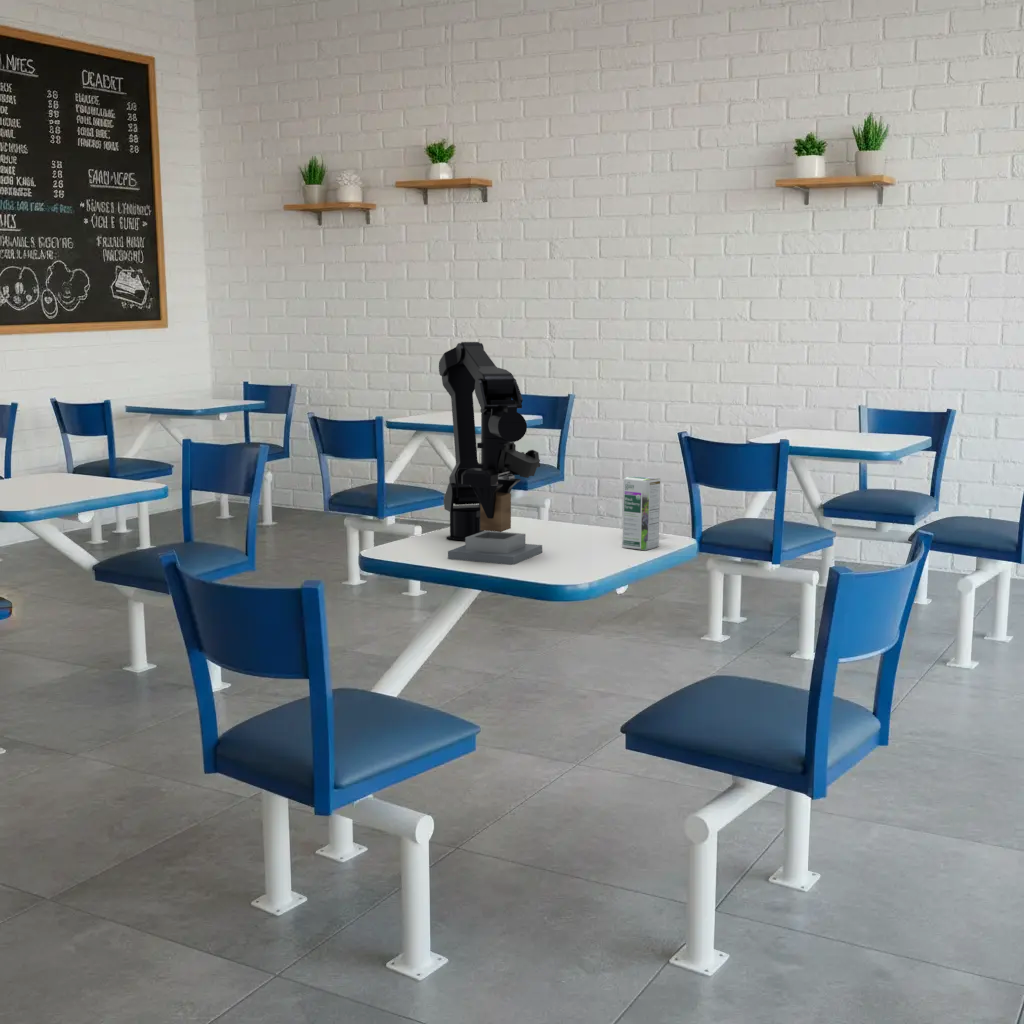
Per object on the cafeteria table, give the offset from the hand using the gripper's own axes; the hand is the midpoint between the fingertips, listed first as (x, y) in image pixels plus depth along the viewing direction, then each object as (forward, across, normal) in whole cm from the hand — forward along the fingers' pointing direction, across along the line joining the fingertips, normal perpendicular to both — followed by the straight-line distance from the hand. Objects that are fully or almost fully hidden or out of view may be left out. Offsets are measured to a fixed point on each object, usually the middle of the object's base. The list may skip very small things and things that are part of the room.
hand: (495, 516), depth 240 cm
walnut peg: (+2, 0, 0) cm, 2 cm away
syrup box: (+8, +21, -23) cm, 32 cm away
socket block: (+8, 0, 0) cm, 8 cm away
